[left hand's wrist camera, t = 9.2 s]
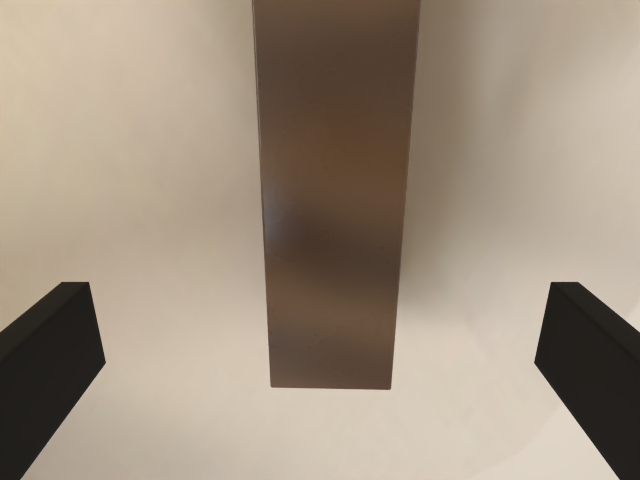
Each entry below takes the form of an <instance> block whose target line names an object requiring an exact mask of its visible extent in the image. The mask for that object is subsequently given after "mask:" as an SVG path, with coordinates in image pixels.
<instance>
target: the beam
mask: <svg viewBox="0 0 640 480" xmlns="http://www.w3.org/2000/svg"><path fill="white" fill-rule="evenodd" d="M420 4H421V0H252V11H253V32H254V53H255V73H256V94H257V115H258V135H259V156H260V177H261V197H262V218H263V239H264V259H265V280H266V301H267V321H268V342H269V363H270V383H271V387H276V388H326V389H375V390H390V389H391V381H392V368H393V355H394V342H395V329H396V316H397V303H398V290H399V277H400V264H401V251H402V238H403V225H404V212H405V199H406V186H407V173H408V160H409V147H410V134H411V121H412V108H413V95H414V82H415V69H416V56H417V43H418V30H419V17H420Z"/></svg>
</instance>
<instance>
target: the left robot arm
mask: <svg viewBox="0 0 640 480" xmlns="http://www.w3.org/2000/svg"><path fill="white" fill-rule="evenodd" d="M105 363H106V361H105V357H104V352H103V347H102V342H101V337H100V333H99V328H98V323H97V318H96V314H95V309H94V304H93V299H92V295H91V290H90V285H89V282H61V283H60V284H59V285H58V286H56V287H55V288H54V289H53V290H52V291H50V292H49V293H48V294H47V295H45V296H44V297H43V298H42V299H41V300H39V301H38V302H37V303H36V304H34V305H33V306H32V307H31V308H30V309H28V310H27V311H26V312H25V313H23V314H22V315H21V316H20V317H19V318H17V319H16V320H15V321H14V322H12V323H11V324H10V325H9V326H8V327H6V328H5V329H4V330H3V331H1V332H0V480H20V479H21V478H22V477H23V475H24V474H25V472H26V471H27V470H28V468H29V467H30V466H31V464H32V463H33V462H34V460H35V459H36V457H37V456H38V455H39V453H40V452H41V451H42V449H43V448H44V447H45V445H46V444H47V442H48V441H49V440H50V438H51V437H52V436H53V434H54V433H55V432H56V430H57V429H58V427H59V426H60V425H61V423H62V422H63V421H64V419H65V418H66V417H67V415H68V414H69V412H70V411H71V410H72V408H73V407H74V406H75V404H76V403H77V402H78V400H79V399H80V397H81V396H82V395H83V393H84V392H85V391H86V389H87V388H88V387H89V385H90V384H91V382H92V381H93V380H94V378H95V377H96V376H97V374H98V373H99V372H100V370H101V369H102V367H103V366H104V365H105ZM534 363H535V365H536V366H537V367H538V369H539V370H540V372H541V373H542V374H543V376H544V377H545V378H546V380H547V381H548V382H549V384H550V385H551V387H552V388H553V389H554V391H555V392H556V393H557V395H558V396H559V397H560V399H561V400H562V402H563V403H564V404H565V406H566V407H567V408H568V410H569V411H570V412H571V414H572V415H573V416H574V418H575V419H576V421H577V422H578V423H579V425H580V426H581V427H582V429H583V430H584V432H585V433H586V434H587V436H588V437H589V438H590V440H591V441H592V442H593V444H594V445H595V446H596V448H597V449H598V451H599V452H600V453H601V455H602V456H603V457H604V459H605V460H606V462H607V463H608V464H609V466H610V467H611V468H612V470H613V471H614V472H615V474H616V475H617V477H618V478H619V479H620V480H640V332H639V331H637V330H636V329H635V328H634V327H632V326H631V325H630V324H629V323H628V322H626V321H625V320H624V319H623V318H621V317H620V316H619V315H618V314H617V313H615V312H614V311H613V310H612V309H610V308H609V307H608V306H607V305H606V304H604V303H603V302H602V301H601V300H599V299H598V298H597V297H596V296H595V295H593V294H592V293H591V292H590V291H588V290H587V289H586V288H585V287H584V286H582V285H581V284H580V283H579V282H551V285H550V290H549V295H548V299H547V304H546V309H545V314H544V318H543V323H542V328H541V333H540V337H539V342H538V347H537V352H536V357H535V361H534Z"/></svg>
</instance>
